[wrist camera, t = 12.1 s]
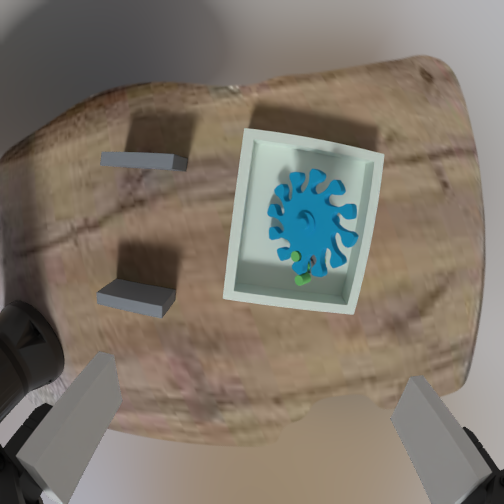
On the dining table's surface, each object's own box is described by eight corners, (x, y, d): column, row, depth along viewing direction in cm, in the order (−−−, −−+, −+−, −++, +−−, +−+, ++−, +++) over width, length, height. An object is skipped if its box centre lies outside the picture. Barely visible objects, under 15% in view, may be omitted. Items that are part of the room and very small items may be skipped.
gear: (270, 160, 27) (363, 181, 20) (307, 164, 31) (389, 185, 24) (254, 264, 31) (331, 308, 24) (290, 256, 35) (361, 291, 28)
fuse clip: (116, 288, 33) (97, 303, 28) (123, 155, 30) (101, 151, 25) (175, 300, 33) (161, 318, 28) (187, 158, 30) (173, 154, 25)
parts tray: (226, 287, 33) (222, 298, 29) (246, 134, 29) (244, 128, 25) (345, 302, 32) (353, 314, 29) (372, 157, 29) (384, 154, 25)
